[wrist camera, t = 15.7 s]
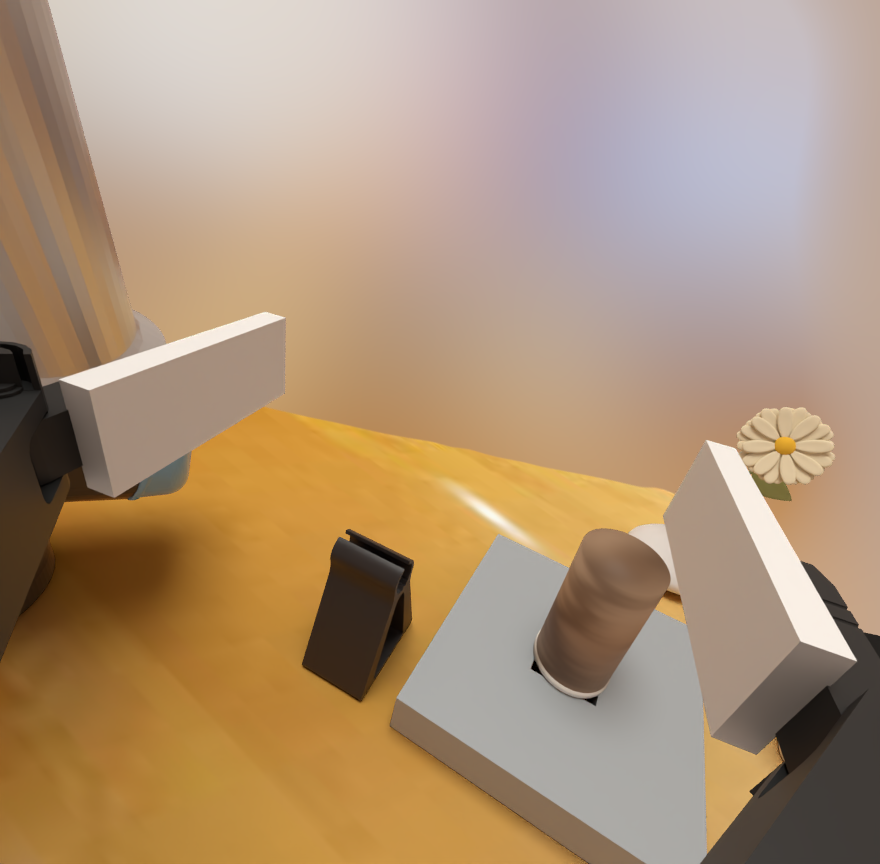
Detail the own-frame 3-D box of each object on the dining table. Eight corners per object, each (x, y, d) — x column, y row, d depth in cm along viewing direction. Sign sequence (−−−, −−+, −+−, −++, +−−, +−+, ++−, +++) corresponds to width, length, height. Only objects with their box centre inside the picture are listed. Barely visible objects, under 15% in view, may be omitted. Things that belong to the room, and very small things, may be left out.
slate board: (389, 725, 36) (396, 698, 34) (490, 558, 53) (498, 533, 51) (678, 925, 29) (708, 904, 27) (683, 656, 46) (701, 632, 44)
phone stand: (360, 703, 37) (376, 607, 31) (301, 666, 38) (305, 568, 32) (411, 622, 44) (432, 532, 38) (360, 594, 46) (373, 503, 40)
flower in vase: (603, 555, 58) (692, 378, 45) (645, 526, 65) (733, 366, 52) (702, 632, 50) (844, 444, 37) (739, 590, 57) (868, 419, 44)
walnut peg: (508, 660, 42) (563, 534, 34) (564, 642, 45) (626, 522, 37) (548, 733, 37) (623, 605, 29) (608, 708, 40) (692, 586, 32)
